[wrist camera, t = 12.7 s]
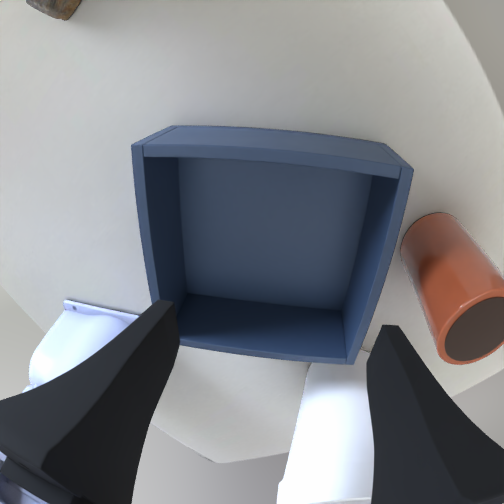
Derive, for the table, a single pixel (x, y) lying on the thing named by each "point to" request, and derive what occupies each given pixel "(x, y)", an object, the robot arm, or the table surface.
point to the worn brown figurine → (55, 7)
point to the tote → (269, 236)
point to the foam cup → (331, 439)
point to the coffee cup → (455, 288)
